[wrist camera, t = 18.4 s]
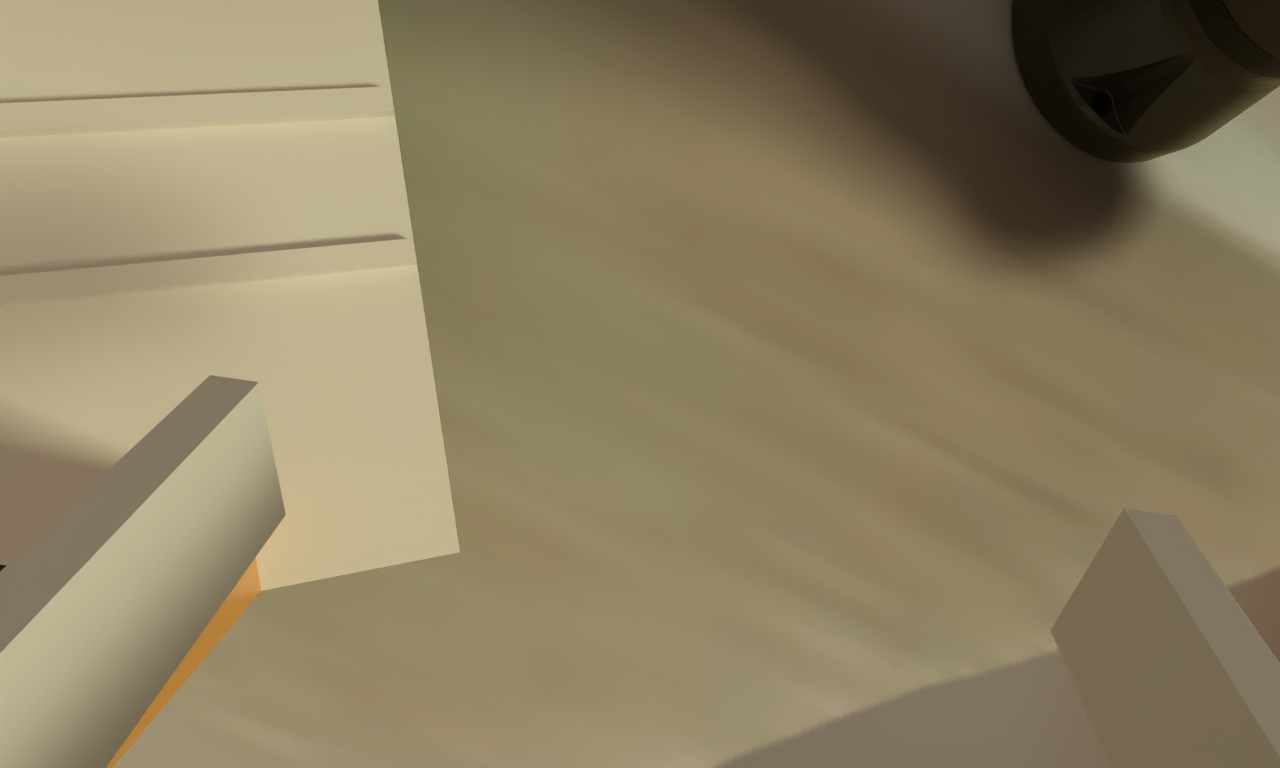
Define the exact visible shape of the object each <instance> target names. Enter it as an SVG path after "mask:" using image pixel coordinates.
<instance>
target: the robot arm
mask: <svg viewBox="0 0 1280 768" xmlns="http://www.w3.org/2000/svg"><path fill="white" fill-rule="evenodd" d="M1013 32H1014V41H1015V48H1016V53H1017V57H1018V61H1019V65H1020V68H1021V71H1022V74H1023V77H1024V79H1025V82H1026V84H1027V87H1028V89H1029V91H1030V93H1031V95H1032V97H1033V99H1034V100H1035V102H1036V104H1037V105H1038V107H1039V108H1040V110H1041V111H1042V113H1043V114H1044V116H1045V117H1046V118H1047V120H1048V121H1049V122H1050V123H1051V124H1052V125H1053V127H1054V128H1055V129H1056V130H1057V131H1058V132H1059V133H1060V134H1062V135H1063V136H1064V137H1065V138H1066V139H1067V140H1069V141H1070V142H1071V143H1073V144H1074V145H1075V146H1077V147H1079V148H1080V149H1082V150H1084V151H1085V152H1087V153H1089V154H1092V155H1094V156H1096V157H1099V158H1102V159H1105V160H1110V161H1115V162H1124V163H1132V162H1142V161H1146V160H1151V159H1154V158H1157V157H1160V156H1163V155H1166V154H1169V153H1173V152H1176V151H1179V150H1182V149H1185V148H1187V147H1189V146H1192V145H1194V144H1196V143H1198V142H1200V141H1201V140H1203V139H1205V138H1207V137H1208V136H1209V135H1211V134H1212V133H1214V132H1215V131H1216V130H1218V129H1219V128H1221V127H1222V126H1224V125H1225V124H1226V123H1228V122H1229V121H1231V120H1232V119H1233V118H1235V117H1236V116H1238V115H1239V114H1240V113H1242V112H1243V111H1245V110H1246V109H1248V108H1249V107H1250V106H1252V105H1253V104H1255V103H1256V102H1257V101H1259V100H1260V99H1262V98H1263V97H1265V96H1266V95H1267V94H1269V93H1270V92H1272V91H1273V90H1274V89H1276V88H1277V87H1279V86H1280V0H1014V7H1013ZM285 515H286V513H285V508H284V503H283V499H282V494H281V489H280V484H279V479H278V474H277V469H276V464H275V459H274V454H273V449H272V444H271V439H270V434H269V429H268V425H267V420H266V415H265V410H264V405H263V400H262V395H261V390H260V385H259V382H255V381H248V380H241V379H234V378H227V377H221V376H214V375H210V376H209V377H207V378H206V379H205V380H204V381H203V382H202V383H201V384H200V385H199V386H198V387H197V388H196V389H195V390H194V391H193V392H191V393H190V394H189V395H188V396H187V397H186V398H185V399H184V400H183V401H182V402H181V403H180V404H179V405H178V406H176V407H175V408H174V409H173V410H172V411H171V412H170V413H169V414H168V415H167V416H166V417H165V418H164V419H163V420H162V421H160V422H159V423H158V424H157V425H156V426H155V427H154V428H153V429H152V430H151V431H150V432H149V433H148V434H147V435H146V436H144V437H143V438H142V439H141V440H140V441H139V442H138V443H137V444H136V445H135V446H134V447H133V448H132V449H131V450H130V451H128V452H127V453H126V454H125V455H124V456H123V457H122V458H121V459H120V460H119V461H118V462H117V463H116V464H115V465H114V466H112V467H111V468H110V469H109V470H108V471H107V472H106V473H105V474H104V475H103V476H102V477H101V478H100V479H99V480H98V481H96V482H95V483H94V484H93V485H92V486H91V487H90V488H89V489H88V490H87V491H86V492H85V493H84V494H83V495H82V496H80V497H79V498H78V499H77V500H76V501H75V502H74V503H73V504H72V505H71V506H70V507H69V508H68V509H67V510H66V511H64V512H63V513H62V514H61V515H60V516H59V517H58V518H57V519H56V520H55V521H54V522H53V523H52V524H51V525H49V526H48V527H47V528H46V529H45V530H44V531H43V532H42V533H41V534H40V535H39V536H38V537H37V538H36V539H35V540H33V541H32V542H31V543H30V544H29V545H28V546H27V547H26V548H25V549H24V550H23V551H22V552H21V553H20V554H19V555H17V556H16V557H15V558H14V559H13V560H12V561H11V562H10V563H9V564H8V565H7V566H6V565H0V768H106V767H107V766H108V764H109V763H110V761H111V760H112V759H113V757H114V756H115V754H116V753H117V752H118V750H119V749H120V747H121V746H122V745H123V743H124V742H125V740H126V739H127V737H128V736H129V735H130V733H131V732H132V730H133V729H134V728H135V726H136V725H137V723H138V722H139V721H140V719H141V718H142V716H143V715H144V714H145V712H146V711H147V709H148V708H149V707H150V705H151V704H152V702H153V701H154V700H155V698H156V697H157V695H158V694H159V692H160V691H161V690H162V688H163V687H164V685H165V684H166V683H167V681H168V680H169V678H170V677H171V676H172V674H173V673H174V671H175V670H176V669H177V667H178V666H179V664H180V663H181V662H182V660H183V659H184V657H185V656H186V655H187V653H188V652H189V650H190V649H191V647H192V646H193V645H194V643H195V642H196V640H197V639H198V638H199V636H200V635H201V633H202V632H203V631H204V629H205V628H206V626H207V625H208V624H209V622H210V621H211V619H212V618H213V617H214V615H215V614H216V612H217V611H218V609H219V608H220V607H221V605H222V604H223V602H224V601H225V600H226V598H227V597H228V595H229V594H230V593H231V591H232V590H233V588H234V587H235V586H236V584H237V583H238V581H239V580H240V579H241V577H242V576H243V574H244V573H245V572H246V570H247V569H248V567H249V566H250V564H251V563H252V562H253V560H254V559H255V557H256V556H257V555H258V553H259V552H260V550H261V549H262V548H263V546H264V545H265V543H266V542H267V541H268V539H269V538H270V536H271V535H272V534H273V532H274V531H275V529H276V528H277V527H278V525H279V524H280V522H281V521H282V519H283V518H284V517H285ZM1051 632H1052V635H1053V637H1054V639H1055V642H1056V644H1057V646H1058V649H1059V651H1060V653H1061V656H1062V658H1063V661H1064V663H1065V665H1066V667H1067V670H1068V672H1069V675H1070V677H1071V679H1072V682H1073V684H1074V687H1075V689H1076V691H1077V694H1078V696H1079V698H1080V701H1081V703H1082V706H1083V708H1084V710H1085V712H1086V715H1087V717H1088V720H1089V722H1090V724H1091V727H1092V729H1093V732H1094V733H1095V736H1096V739H1097V741H1098V743H1099V746H1100V748H1101V750H1102V753H1103V755H1104V758H1105V760H1106V762H1107V764H1108V767H1109V768H1280V663H1279V662H1278V660H1277V659H1276V657H1275V656H1274V655H1273V653H1272V652H1271V651H1270V649H1269V647H1268V646H1267V645H1266V643H1265V642H1264V640H1263V639H1262V637H1261V636H1260V635H1259V633H1258V632H1257V630H1256V629H1255V628H1254V626H1253V625H1252V623H1251V622H1250V620H1249V619H1248V617H1247V616H1246V614H1245V613H1244V612H1243V610H1242V609H1241V607H1240V606H1239V604H1238V603H1237V602H1236V600H1235V599H1234V597H1233V596H1232V594H1231V593H1230V592H1229V590H1228V589H1227V587H1226V586H1225V584H1224V583H1223V582H1222V580H1221V579H1220V577H1219V576H1218V574H1217V573H1216V572H1215V570H1214V569H1213V567H1212V566H1211V564H1210V563H1209V562H1208V560H1207V559H1206V557H1205V556H1204V554H1203V553H1202V552H1201V550H1200V549H1199V547H1198V546H1197V544H1196V543H1195V541H1194V540H1193V539H1192V537H1191V536H1190V534H1189V533H1188V531H1187V530H1186V529H1185V527H1184V526H1183V524H1182V523H1181V521H1180V520H1179V519H1178V517H1177V516H1175V515H1168V514H1161V513H1154V512H1147V511H1140V510H1134V509H1127V508H1124V509H1123V511H1122V513H1121V514H1120V516H1119V518H1118V519H1117V521H1116V523H1115V524H1114V526H1113V528H1112V529H1111V531H1110V533H1109V534H1108V536H1107V537H1106V539H1105V541H1104V542H1103V544H1102V546H1101V547H1100V549H1099V551H1098V552H1097V554H1096V556H1095V557H1094V559H1093V561H1092V562H1091V564H1090V566H1089V567H1088V569H1087V571H1086V572H1085V574H1084V576H1083V577H1082V579H1081V581H1080V582H1079V584H1078V586H1077V587H1076V589H1075V590H1074V592H1073V594H1072V595H1071V597H1070V599H1069V600H1068V602H1067V604H1066V605H1065V607H1064V609H1063V610H1062V612H1061V614H1060V615H1059V617H1058V619H1057V620H1056V622H1055V624H1054V625H1053V627H1052V629H1051Z"/></svg>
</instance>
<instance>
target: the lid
mask: <svg viewBox="0 0 1280 768" xmlns="http://www.w3.org/2000/svg"><path fill="white" fill-rule="evenodd" d="M210 375H214V376H221V377H227V378H234V379H241V380H248V381H255V382H259V385H260V390H261V395H262V400H263V405H264V410H265V415H266V420H267V425H268V429H269V434H270V439H271V444H272V449H273V454H274V459H275V464H276V469H277V474H278V479H279V484H280V489H281V494H282V499H283V503H284V508H285V513H286V515H285V517H284V518H283V519H282V521H281V522H280V524H279V525H278V527H277V528H276V529H275V531H274V532H273V534H272V535H271V536H270V538H269V539H268V541H267V542H266V543H265V545H264V546H263V548H262V549H261V550H260V552H259V553H258V555H257V556H256V557H255V559H254V560H253V562H252V563H251V564H250V566H249V567H248V569H247V570H246V572H245V573H244V574H243V576H242V577H241V579H240V580H239V581H238V583H237V584H236V586H235V587H234V588H233V590H232V591H231V593H230V594H229V595H228V597H227V598H226V600H225V601H224V602H223V604H222V605H221V607H220V608H219V609H218V611H217V612H216V614H215V615H214V617H213V618H212V619H211V621H210V622H209V624H208V625H207V626H206V628H205V629H204V631H203V632H202V633H201V635H200V636H199V638H198V639H197V640H196V642H195V643H194V645H193V646H192V647H191V649H190V650H189V652H188V653H187V655H186V656H185V657H184V659H183V660H182V662H181V663H180V664H179V666H178V667H177V669H176V670H175V671H174V673H173V674H172V676H171V677H170V678H169V680H168V681H167V683H166V684H165V685H164V687H163V688H162V690H161V691H160V692H159V694H158V695H157V697H156V698H155V700H154V701H153V702H152V704H151V705H150V707H149V708H148V709H147V711H146V712H145V714H144V715H143V716H142V718H141V719H140V721H139V722H138V723H137V725H136V726H135V728H134V729H133V730H132V732H131V733H130V735H129V736H128V737H127V739H126V740H125V742H124V743H123V745H122V746H121V747H120V749H119V750H118V752H117V753H116V754H115V756H114V757H113V759H112V760H111V761H110V763H109V764H108V766H107V767H106V768H112V767H113V766H114V765H115V764H116V763H117V761H118V760H119V759H120V758H121V757H122V755H123V754H124V753H125V752H126V751H127V749H128V748H129V747H130V746H131V745H132V744H133V742H134V741H135V740H136V739H137V738H138V736H139V735H140V734H141V733H142V732H143V730H144V729H145V728H146V727H147V726H148V725H149V723H150V722H151V721H152V720H153V719H154V717H155V716H156V715H157V714H158V713H159V712H160V710H161V709H162V708H163V707H164V706H165V704H166V703H167V702H168V701H169V700H170V698H171V697H172V696H173V695H174V694H175V693H176V691H177V690H178V689H179V688H180V687H181V685H182V684H183V683H184V682H185V681H186V680H187V678H188V677H189V676H190V675H191V674H192V672H193V671H194V670H195V669H196V668H197V666H198V665H199V664H200V663H201V662H202V661H203V659H204V658H205V657H206V656H207V655H208V653H209V652H210V651H211V650H212V649H213V648H214V646H215V645H216V644H217V643H218V642H219V640H220V639H221V638H222V637H223V636H224V634H225V633H226V632H227V631H228V630H229V629H230V627H231V626H232V625H233V624H234V623H235V621H236V620H237V619H238V618H239V617H240V615H241V614H242V613H243V612H244V611H245V610H246V608H247V607H248V606H249V605H250V604H251V602H252V601H253V600H254V599H255V598H256V597H257V595H258V594H259V593H260V592H261V591H263V590H268V589H273V588H278V587H283V586H288V585H294V584H299V583H304V582H309V581H314V580H319V579H325V578H330V577H335V576H340V575H345V574H350V573H355V572H361V571H366V570H371V569H376V568H381V567H386V566H391V565H397V564H402V563H407V562H412V561H417V560H422V559H427V558H433V557H438V556H443V555H448V554H453V553H458V552H460V550H459V543H458V536H457V529H456V523H455V516H454V509H453V503H452V496H451V489H450V482H449V476H448V469H447V462H446V456H445V449H444V442H443V435H442V429H441V422H440V415H439V409H438V402H437V395H436V388H435V382H434V375H433V368H432V361H431V355H430V348H429V341H428V335H427V328H426V321H425V314H424V308H423V301H422V294H421V288H420V281H419V274H418V267H417V261H416V254H415V247H414V240H413V234H412V227H411V220H410V214H409V207H408V200H407V193H406V187H405V180H404V173H403V167H402V160H401V153H400V146H399V140H398V133H397V126H396V119H395V113H394V106H393V99H392V93H391V86H390V79H389V72H388V66H387V59H386V52H385V46H384V39H383V32H382V25H381V19H380V12H379V5H378V0H0V565H6V566H7V565H8V564H9V563H10V562H11V561H12V560H13V559H14V558H15V557H16V556H17V555H19V554H20V553H21V552H22V551H23V550H24V549H25V548H26V547H27V546H28V545H29V544H30V543H31V542H32V541H33V540H35V539H36V538H37V537H38V536H39V535H40V534H41V533H42V532H43V531H44V530H45V529H46V528H47V527H48V526H49V525H51V524H52V523H53V522H54V521H55V520H56V519H57V518H58V517H59V516H60V515H61V514H62V513H63V512H64V511H66V510H67V509H68V508H69V507H70V506H71V505H72V504H73V503H74V502H75V501H76V500H77V499H78V498H79V497H80V496H82V495H83V494H84V493H85V492H86V491H87V490H88V489H89V488H90V487H91V486H92V485H93V484H94V483H95V482H96V481H98V480H99V479H100V478H101V477H102V476H103V475H104V474H105V473H106V472H107V471H108V470H109V469H110V468H111V467H112V466H114V465H115V464H116V463H117V462H118V461H119V460H120V459H121V458H122V457H123V456H124V455H125V454H126V453H127V452H128V451H130V450H131V449H132V448H133V447H134V446H135V445H136V444H137V443H138V442H139V441H140V440H141V439H142V438H143V437H144V436H146V435H147V434H148V433H149V432H150V431H151V430H152V429H153V428H154V427H155V426H156V425H157V424H158V423H159V422H160V421H162V420H163V419H164V418H165V417H166V416H167V415H168V414H169V413H170V412H171V411H172V410H173V409H174V408H175V407H176V406H178V405H179V404H180V403H181V402H182V401H183V400H184V399H185V398H186V397H187V396H188V395H189V394H190V393H191V392H193V391H194V390H195V389H196V388H197V387H198V386H199V385H200V384H201V383H202V382H203V381H204V380H205V379H206V378H207V377H209V376H210Z"/></svg>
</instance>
